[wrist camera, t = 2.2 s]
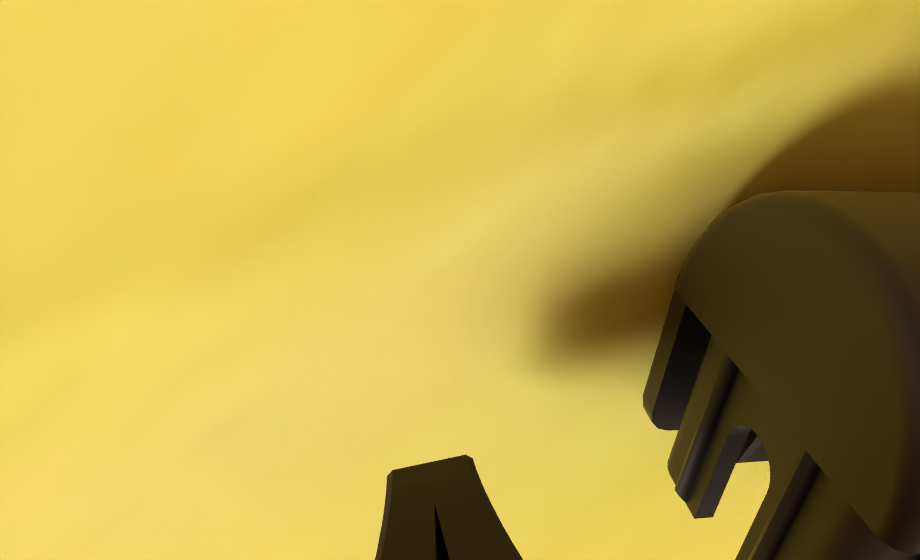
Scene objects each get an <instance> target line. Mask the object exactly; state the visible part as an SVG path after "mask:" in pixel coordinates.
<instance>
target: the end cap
mask: <svg viewBox="0 0 920 560" xmlns="http://www.w3.org/2000/svg"><path fill="white" fill-rule="evenodd" d="M643 407H644V409H645V411H646V412H647V414H648V416H649V418H650V419H651V421H652V422H653V424H654V425H655V426H656V427H657V428H658V429H664V430H679V431H678V433H677V436H676V439H675V442H674V445H673V448H672V451H671V454H670V457H669V459H668V470H669V473H670V476H671V477H672V479H673V481H674V483H675V485H676V486H675V491H676V492H677V494H678V495H679V496H680V497H681V499H682V500H683V501H685V503H686V504H687V506H688V508H689V510H690V512H691V513H692V515H693V517H694V519H696V518H708V517H713V516H714V513H715V511H716V508H717V506H718V504H719V501H720V499H721V497H722V494H723V492H724V490H725V487H726V485H727V483H728V480H729V478H730V475H731V473H732V471H733V468H734V466H735V464H736V463H742V462H756V461H769V464H770V484H769V489H768V491H767V494H766V496H765V498H764V500H763V502H762V504H761V507H760V509H759V511H758V513H757V515H756V517H755V519H754V521H753V523H752V526H751V528H750V530H749V532H748V534H747V536H746V538H745V540H744V542H743V544H742V547H741V549H740V551H739V553H738V555H737V557H736V559H735V560H920V192H892V191H812V190H786V191H778V192H770V193H762V194H757V195H755V196H753V197H750V198H748V199H746V200H743V201H741V202H739V203H737V204H735V205H733V206H731V207H730V208H729V209H728V210H726V211H725V212H724V213H723V214H721V215H720V216H719V217H718V218H716V219H715V220H714V221H713V222H712V223H711V224H710V226H709V227H708V228H707V229H706V231H705V232H704V233H703V234H702V235H701V237H700V238H699V239H698V240H697V242H696V244H695V245H694V247H693V248H692V250H691V252H690V254H689V256H688V258H687V260H686V262H685V263H684V266H683V268H682V270H681V272H680V274H679V276H678V280H677V283H676V286H675V290H674V293H673V296H672V300H671V303H670V306H669V310H668V313H667V317H666V320H665V323H664V327H663V330H662V333H661V337H660V340H659V343H658V347H657V350H656V353H655V357H654V360H653V364H652V367H651V370H650V374H649V377H648V380H647V384H646V387H645V390H644V394H643Z"/></svg>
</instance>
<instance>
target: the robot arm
mask: <svg viewBox="0 0 920 560" xmlns="http://www.w3.org/2000/svg"><path fill="white" fill-rule="evenodd" d="M375 560H523V559H522V557H521V556H520V554H519V552H518V551H517V549H516V548H515V546H514V544H513V543H512V541H511V539H510V538H509V536H508V534H507V532H506V531H505V529H504V527H503V525H502V523H501V521H500V520H499V518H498V516H497V514H496V512H495V510H494V508H493V506H492V504H491V502H490V500H489V498H488V496H487V494H486V492H485V490H484V487H483V485H482V483H481V480H480V478H479V475H478V473H477V470H476V467H475V464H474V461H473V458H471V457H469V456H467V455H462V456H457V457H453V458H448V459H443V460H438V461H434V462H429V463H424V464H420V465H415V466H410V467H405V468H401V469H396V470H392V472H391V473H390V474H389V475H388V476H387V488H386V499H385V507H384V515H383V521H382V527H381V532H380V538H379V543H378V548H377V553H376V558H375Z"/></svg>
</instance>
